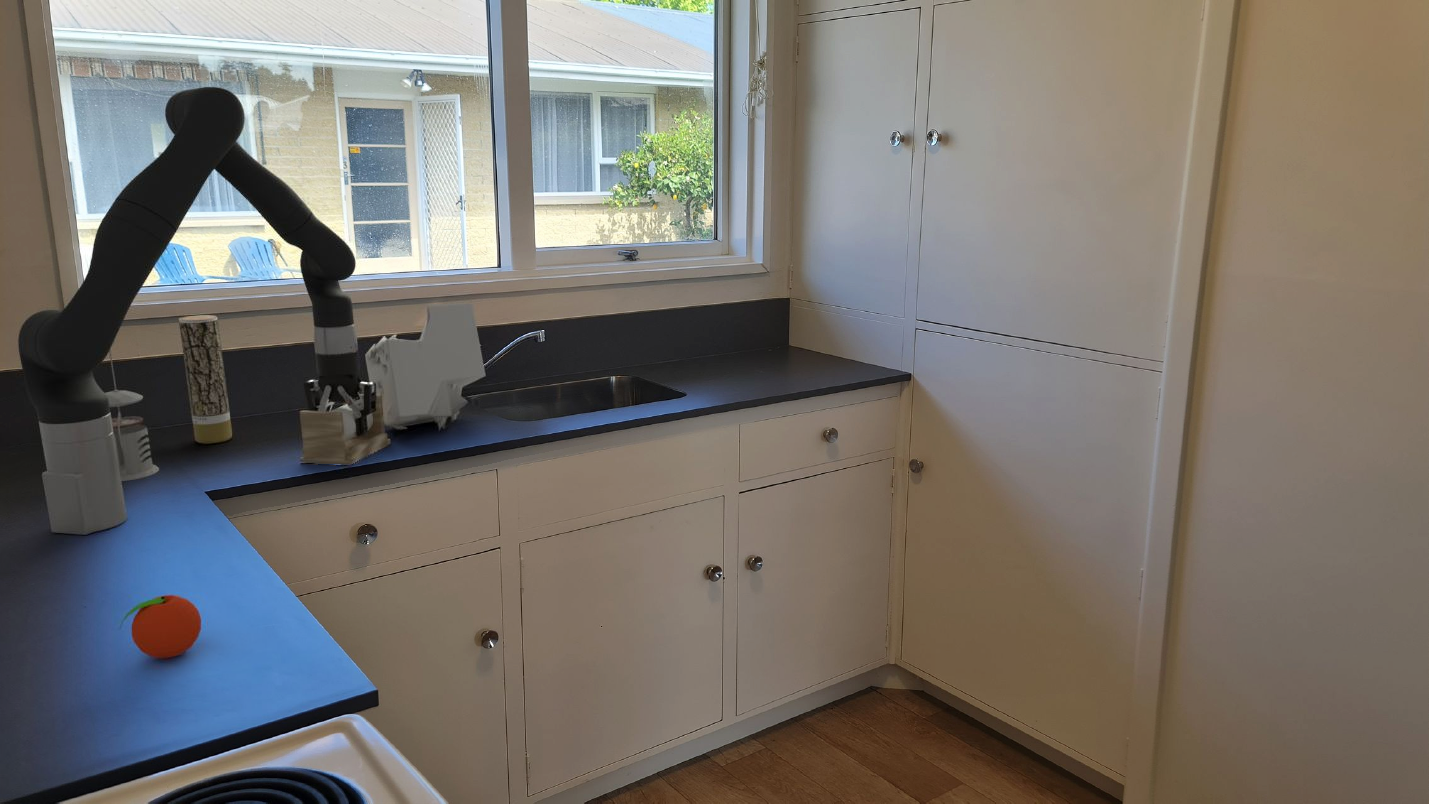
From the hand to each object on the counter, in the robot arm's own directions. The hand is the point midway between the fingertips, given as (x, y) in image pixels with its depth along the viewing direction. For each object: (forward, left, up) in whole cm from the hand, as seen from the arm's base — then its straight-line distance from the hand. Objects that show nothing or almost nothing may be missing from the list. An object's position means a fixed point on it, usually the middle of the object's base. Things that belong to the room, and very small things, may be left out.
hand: (344, 434), depth 189 cm
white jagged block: (+21, -6, -4) cm, 22 cm away
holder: (0, 0, -4) cm, 4 cm away
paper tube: (+4, +32, -4) cm, 33 cm away
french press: (-19, +32, -4) cm, 37 cm away
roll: (0, 0, -1) cm, 1 cm away
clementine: (-77, -24, -4) cm, 81 cm away
